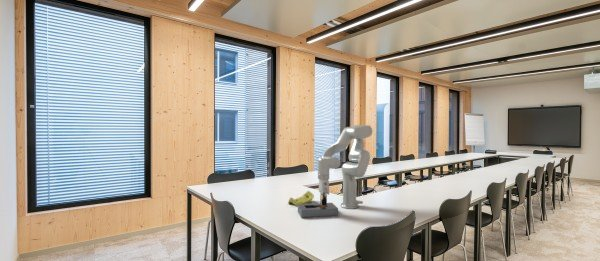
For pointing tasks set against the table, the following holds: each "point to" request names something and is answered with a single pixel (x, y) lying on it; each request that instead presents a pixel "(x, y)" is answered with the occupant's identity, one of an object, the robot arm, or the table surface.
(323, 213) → the keyhole plate
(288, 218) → the table surface
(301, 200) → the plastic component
